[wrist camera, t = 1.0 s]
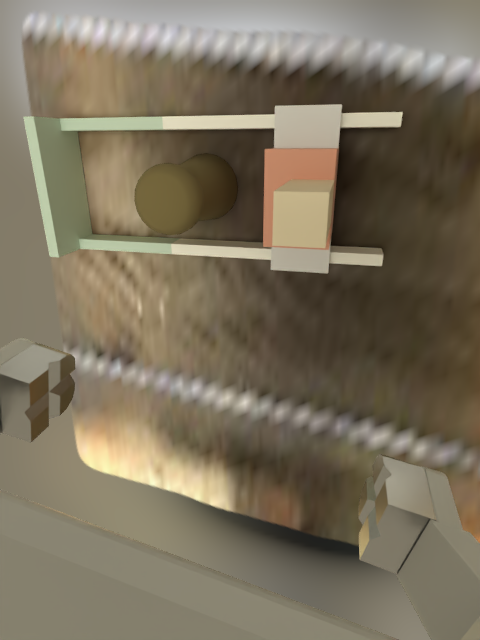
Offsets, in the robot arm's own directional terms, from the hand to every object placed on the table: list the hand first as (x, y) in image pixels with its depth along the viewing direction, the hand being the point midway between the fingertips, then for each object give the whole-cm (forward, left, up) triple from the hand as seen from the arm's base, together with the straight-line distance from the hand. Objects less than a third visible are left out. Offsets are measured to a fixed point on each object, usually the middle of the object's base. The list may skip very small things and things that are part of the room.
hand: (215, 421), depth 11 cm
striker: (+1, -3, -31) cm, 31 cm away
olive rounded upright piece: (+10, -3, -31) cm, 33 cm away
